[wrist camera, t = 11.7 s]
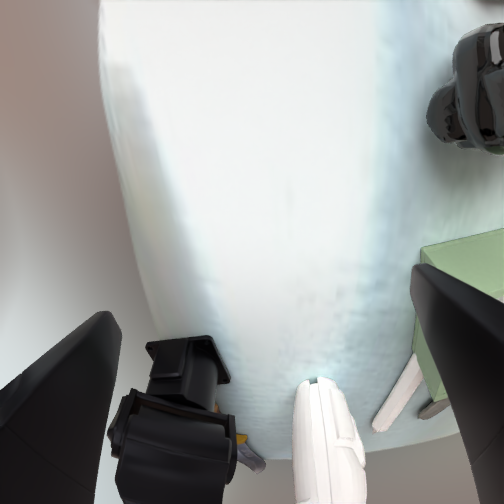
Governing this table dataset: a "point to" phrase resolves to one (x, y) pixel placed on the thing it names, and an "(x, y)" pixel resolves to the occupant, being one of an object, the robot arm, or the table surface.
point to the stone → (434, 408)
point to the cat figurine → (473, 94)
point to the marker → (398, 395)
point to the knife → (246, 452)
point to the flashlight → (326, 447)
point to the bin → (469, 271)
